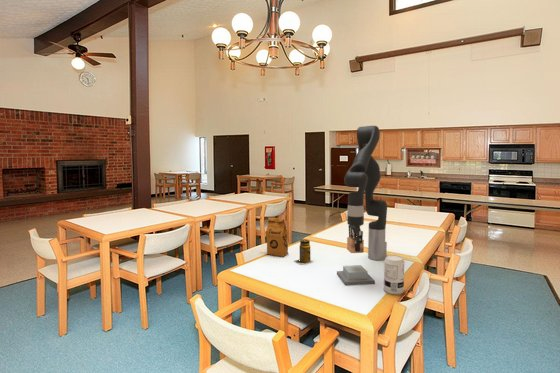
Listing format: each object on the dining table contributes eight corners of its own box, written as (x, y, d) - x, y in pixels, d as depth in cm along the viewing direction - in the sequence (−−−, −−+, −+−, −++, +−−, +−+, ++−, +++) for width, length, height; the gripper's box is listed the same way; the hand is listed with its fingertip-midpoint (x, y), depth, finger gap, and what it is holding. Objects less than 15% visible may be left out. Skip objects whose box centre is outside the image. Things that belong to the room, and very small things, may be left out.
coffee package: (282, 258, 193) (281, 220, 191) (264, 255, 199) (263, 218, 197) (290, 253, 202) (290, 217, 199) (273, 250, 208) (272, 215, 205)
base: (363, 272, 169) (364, 263, 169) (374, 283, 155) (374, 273, 155) (336, 274, 168) (336, 264, 167) (345, 285, 154) (345, 274, 153)
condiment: (313, 261, 186) (313, 240, 185) (301, 265, 182) (301, 243, 180) (305, 258, 192) (305, 238, 191) (293, 261, 188) (293, 240, 186)
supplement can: (380, 287, 151) (381, 255, 149) (398, 287, 151) (399, 254, 150) (388, 295, 143) (388, 261, 141) (406, 294, 143) (407, 260, 142)
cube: (359, 248, 163) (359, 236, 163) (363, 252, 157) (363, 240, 157) (347, 249, 163) (347, 237, 162) (351, 253, 157) (351, 240, 156)
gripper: (368, 217, 151) (368, 253, 153) (358, 211, 165) (357, 244, 167) (352, 217, 150) (352, 254, 152) (343, 211, 165) (343, 245, 167)
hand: (355, 249), depth 160 cm, fingers closed on cube, 6 cm apart
